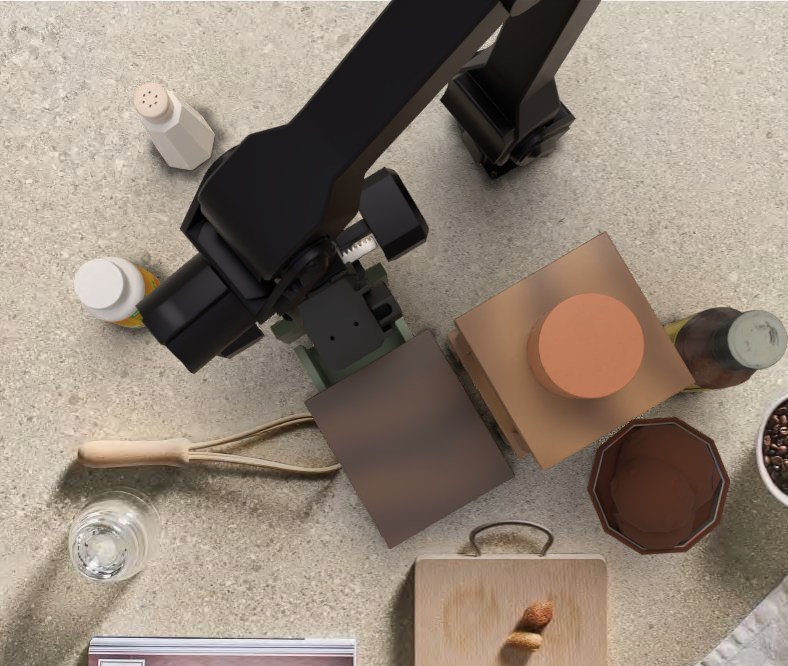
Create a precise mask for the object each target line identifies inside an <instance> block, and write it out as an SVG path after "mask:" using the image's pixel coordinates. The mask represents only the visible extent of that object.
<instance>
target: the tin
mask: <svg viewBox="0 0 788 666" xmlns="http://www.w3.org/2000/svg"><path fill="white" fill-rule="evenodd" d="M643 354H644V337H643V332H642V329H641V326H640V324H639V322H638V320H637V318H636V317H635V315H634V314H633V312H632V311H631V310H630V309H629V308H628V307H627V306H626V305H624V304H623V303H622V302H620V301H619V300H617V299H615V298H613V297H611V296H608V295H605V294H600V293H582V294H578V295H574V296H572V297H569V298H567V299H565V300H564V301H562V302H561V303H559V304H558V305H556V306H555V307H553V308H552V309H550V310H549V311H547V312H546V313H545V314H544V315H542V316H541V317H540V318H539V320H538V321H537V322H536V323H535V325H534V326H533V328H532V330H531V332H530V335H529V338H528V343H527V358H528V363H529V366H530V369H531V371H532V373H533V375H534V377H535V378H536V380H537V381H538V382H539V383H540V384H541V385H542V386H543V387H544V388H545V389H547V390H548V391H550V392H551V393H553V394H555V395H557V396H560V397H564V398H569V399H587V398H600V397H605V396H608V395H611V394H613V393H615V392H617V391H619V390H620V389H622V388H623V387H625V386H626V385H627V384H628V383H629V382H630V381H631V380H632V379H633V377H634V376H635V374H636V373H637V371H638V369H639V367H640V365H641V362H642V359H643Z"/></svg>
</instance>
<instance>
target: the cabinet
mask: <svg viewBox="0 0 788 666" xmlns="http://www.w3.org/2000/svg"><path fill="white" fill-rule="evenodd" d="M303 404H304V405H305V407H306V409H307V411H308V412H309V414H310V415H311V418H312V419H313V421H314V423H315V424H316V427H318V430H319V431H320V432H321V435H322V436H323V438H324V440H325V442H326V443H327V444H328V447H329V448H330V450H331V452H332V453H333V455H334V456H335V458H336V460H337V462H338V463H339V466H340V467H341V469H342V471H343V472H344V474H345V476H346V477H347V479H348V481H349V483H350V484H351V486H352V488H353V490H354V491H355V493H356V495H357V496H358V498H359V500H360V501H361V503H362V505H363V506H364V508H365V509H366V512H367V513H368V515H369V517H370V518H371V520H372V522H373V523H374V525H375V527H376V529H377V530H378V532H379V534H380V535H381V537H382V539H383V541H384V542H385V544H386V546H387V547H388V549H389V550H391V549H393V548H395V547H396V546H398V545H400V544H402V543H404V542H405V541H407V540H409V539H410V538H412V537H413V536H415V535H417V534H419V533H420V532H422V531H424V530H425V529H427V528H430V527H431V526H432V525H434V524H436V523H438V522H439V521H441V520H442V519H443V520H444V518H446V517H449V515H451V514H453V513H455V512H456V511H458V510H460V509H462V508H463V507H465V506H467V505H468V504H470V503H472V502H474V501H475V500H477V499H479V498H480V497H482V496H484V495H486V494H487V493H489V492H490V491H493V490H494V489H495V488H497V487H499V486H501V485H503V484H504V483H507V482H509V480H511V479H513V478H514V477H516V473H515V472H514V470H513V468H512V467H511V465H510V464H509V462H508V460H507V459H506V457H505V455H504V454H503V452H502V450H501V448H500V447H499V445H498V444H497V442H496V440H495V439H494V436H493V435H492V433H491V431H490V430H489V428H488V426H487V424H486V423H485V422H484V421H485V420H484V419H483V418H482V416H481V414H480V413H479V411H478V410H477V408H476V406H475V404H474V402H473V401H472V400H471V397H470V396H469V394H468V393H467V391H466V389H465V387H464V385H463V384H462V382H461V381H460V379H459V377H458V375H457V374H456V372H455V370H454V369H453V367H452V365H451V363H450V362H449V359H448V358H447V357H446V355H445V353H444V352H443V350H442V348H441V347H440V345H439V343H438V341H437V340H436V338H435V336H434V335H433V332H432V331H431V329H430V328H428V329H427V328H426V329H425V330H424V331H422V332H420V333H419V334H416V335H414V338H412V339H410V340H408V341H407V342H405V343H403V344H402V345H400V346H398V347H397V348H395V349H393V350H391V351H390V352H388V353H386V354H385V355H383V356H381V357H380V358H378V359H376V360H374V361H373V362H371V363H369V364H368V365H366V366H364V367H362V368H361V369H359V370H357V371H356V372H354V373H352V374H351V375H349V376H347V377H345V378H344V379H342V380H340V381H339V382H337V383H335V384H334V385H332V386H330V387H328V388H327V389H325V390H323V391H322V392H320V393H318V392H317V394H315V395H313V396H311V397H309V398H308V399H306V400H304V401H303Z"/></svg>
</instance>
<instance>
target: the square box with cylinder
mask: <svg viewBox="0 0 788 666" xmlns="http://www.w3.org/2000/svg"><path fill="white" fill-rule="evenodd" d="M582 293H600V294H605V295H608V296H611V297H613V298H615V299H617V300H619V301H620V302H622V303H623V304H624V305H626V306H627V307H628V308H629V309H630V310H631V311H632V312H633V314H634V315H635V317H636V318H637V320H638V322H639V324H640V326H641V329H642V332H643V337H644V354H643V359H642V362H641V365H640V367H639V369H638V371H637V373H636V374H635V376H634V377H633V379H632V380H631V381H630V382H629V383H628V384H627V385H626V386H625V387H623V388H622V389H620V390H619V391H617V392H615V393H613V394H611V395H608V396H605V397H600V398H587V399H569V398H564V397H560V396H557V395H555V394H553V393H551V392H550V391H548V390H547V389H545V388H544V387H543V386H542V385H541V384H540V383H539V382H538V381H537V380H536V378H535V377H534V375H533V373H532V371H531V369H530V366H529V363H528V358H527V343H528V338H529V335H530V332H531V330H532V328H533V326H534V325H535V323H536V322H537V321H538V320H539V318H540V317H541V316H542V315H544V314H545V313H546V312H547V311H549V310H550V309H552V308H553V307H555V306H556V305H558V304H559V303H561V302H562V301H564V300H565V299H567V298H569V297H572V296H574V295H578V294H582ZM453 324H454V326H455V328H456V329H454V330H453V331H450V332H449V333H447V334H446V336H445V337H446V339H447V341H448V343H449V344H450V345H449V347H448V349H449V350H450V352H451V354H452V355H453V357H454V359H455V361H456V362H457V363H461V365H462V367H463V368H464V369H465V371H466V373H467V375H468V377H469V378H470V380H471V382H472V383H473V385H474V387H475V389H476V390H477V391H478V394H479V395H480V397H481V399H482V401H483V402H484V404H485V406H486V407H487V409H488V411H489V413H490V414H491V416H492V417H493V419H494V421H495V422H496V424H497V426H498V427H496V430H497V432H498V433H499V435H500V438H501V439H502V440H503V443H504V444H505V445H508V446H510V448H511V450H512V452H513V454H514V456H515V457H516V458H517V459H518V460H521V459H523V458H525V457H527V456H529V455H531V457H532V459H533V461H534V462H535V464H536V466H537V467H538V469H539V470H541V471H542V472H545V471H547V470H549V469H550V468H552V467H554V466H555V465H557V464H559V463H561V462H562V461H564V460H565V459H567V458H569V457H571V456H573V455H575V454H577V452H579V451H581V450H583V449H585V448H586V447H588V446H589V445H591V444H594V442H596V441H598V440H600V439H602V438H603V437H605V436H607V435H608V434H610V433H612V432H613V431H615V430H617V429H620V428H621V427H623V426H625V425H626V424H627V423H628V422H630V421H631V420H634V419H637V417H639V416H641V415H643V414H644V413H646V412H648V411H649V410H651V409H653V408H655V407H657V406H658V405H660V404H662V403H663V402H666V401H667V400H668V399H671V398H672V397H673V396H675V395H677V394H679V393H680V391H682V390H684V389H685V388H687V387H689V386H691V385H692V384H694V383H695V380H694V378H693V376H692V375H691V373H690V371H689V370H688V368H687V366H686V365H685V363H684V361H683V360H682V358H681V356H680V355H679V353H678V351H677V350H676V348H675V346H674V344H673V343H672V341H671V339H670V338H669V336H668V334H667V333H666V331H665V329H664V326H663V324H662V323H661V322H660V318H659V317H658V316H657V314H656V313H655V310H654V309H653V308H652V306H651V304H650V303H649V301H648V299H647V297H646V296H645V294H644V292H643V291H642V289H641V287H640V286H639V284H638V282H637V281H636V279H635V277H634V275H633V274H632V272H631V271H630V268H629V267H628V265H627V264H626V261H625V260H624V258H623V257H622V255H621V254H620V252H619V250H618V249H617V247H616V245H615V243H614V242H613V240H612V238H611V237H610V235H609V233H608V231H605V230H604V231H603V232H601V233H599V234H598V235H596V236H594V237H592V238H591V239H589V240H587V241H585V242H584V243H582V244H581V245H579V246H577V247H576V248H574V249H572V250H570V251H569V252H566V253H565V254H563V255H562V256H560V257H558V258H557V259H555V260H553V261H551V262H550V263H548V264H547V265H545V266H543V267H542V268H540V269H537V270H536V271H534V272H533V273H531V274H530V275H528V276H525V278H523V279H521V280H519V281H517V282H516V283H514V284H512V285H511V286H509V287H507V288H505V289H504V290H502V291H501V292H499V293H497V294H495V295H494V296H492V297H491V298H488V299H487V300H485V301H483V302H481V303H480V304H478V305H477V306H475V307H474V308H471V309H470V310H468V311H466V312H464V313H463V314H461V315H460V316H458V317H456V318H455V319H454V320H453Z"/></svg>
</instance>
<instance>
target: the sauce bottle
mask: <svg viewBox="0 0 788 666" xmlns="http://www.w3.org/2000/svg"><path fill="white" fill-rule="evenodd" d="M663 328H664V329H665V331H666V333H667V334H668V336H669V338H670V339H671V341H672V343H673V344H674V346H675V348H676V350H677V351H678V353H679V355H680V356H681V358H682V360H683V361H684V363H685V365H686V366H687V368H688V370H689V371H690V373H691V375H692V376H693V378H694V380H695V383H694V384H692V385H691V386H689V387H687V388H685V389H684V390H682V391H680V392H681V393H695V392H706V391H716V390H724V389H729V388H732V387H736V386H737V387H738V386H739V385H742V384H744V383H745V382H748V381H749V380H750V379H751V378H752V376H753V375H754V374H755V373H756V372H757V371H762V370H765V369H768V368H771V367H772V366H775V365H776V364H777V363H778V362H779V361H781V359H782V358H783V357H784V355H785V353H786V351H787V349H788V332H787V331H786V327H785V326H784V324H783V322H782V321H781V319H780V318H778V317H777V316H776V315H775V314H773V313H772V312H770V311H767V310H764V309H752V310H746V311H743V312H742V311H741V310H738V309H736V308H732V307H729V306H715V307H711V308H706V309H704V310H702V311H699V312H697V313H694V314H690V315H688V316H686V317H683V318H681V319H678V320H675V321H673V322H671V323H668V324H667V325H665V326H663ZM680 392H679V393H680Z"/></svg>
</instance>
